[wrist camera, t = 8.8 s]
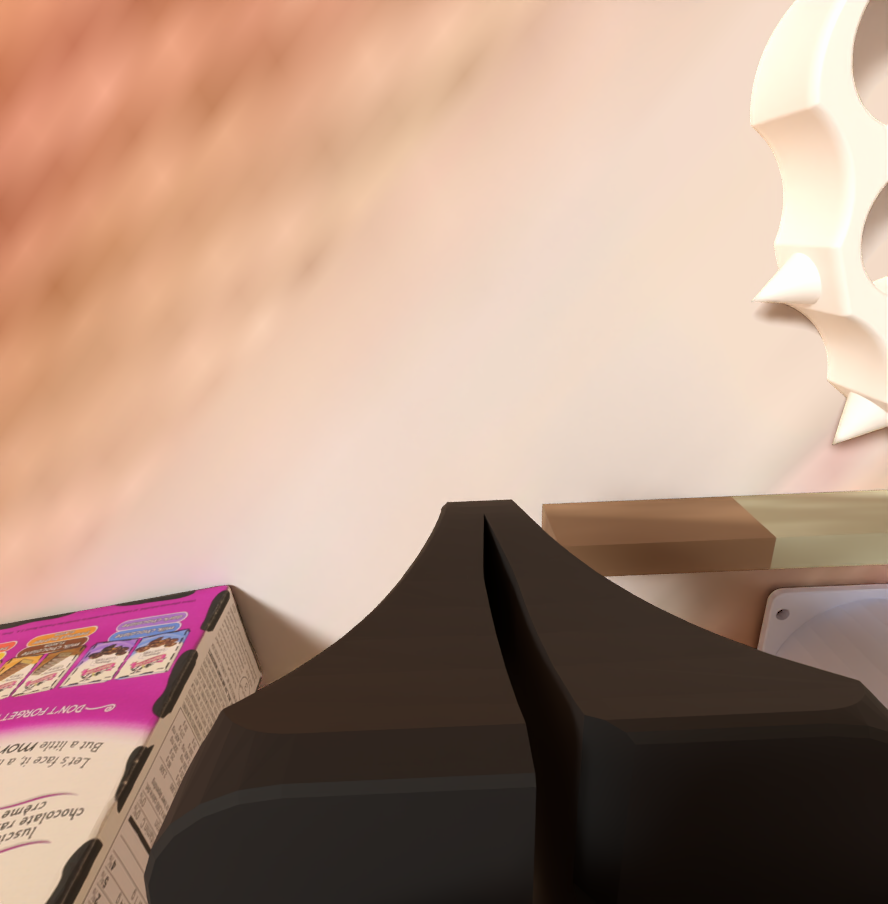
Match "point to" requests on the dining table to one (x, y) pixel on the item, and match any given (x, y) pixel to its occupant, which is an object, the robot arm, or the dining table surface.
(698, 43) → the dining table surface
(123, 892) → the candy bar box
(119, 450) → the dining table surface
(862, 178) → the white brass knuckles
